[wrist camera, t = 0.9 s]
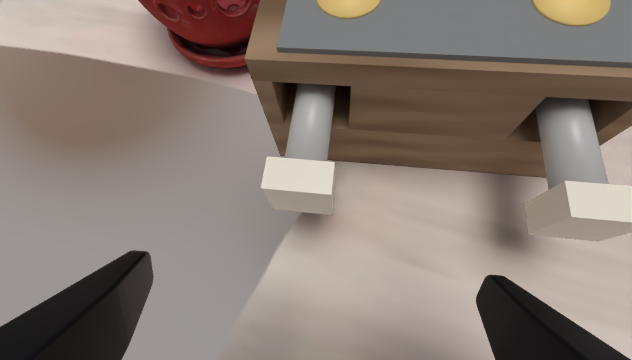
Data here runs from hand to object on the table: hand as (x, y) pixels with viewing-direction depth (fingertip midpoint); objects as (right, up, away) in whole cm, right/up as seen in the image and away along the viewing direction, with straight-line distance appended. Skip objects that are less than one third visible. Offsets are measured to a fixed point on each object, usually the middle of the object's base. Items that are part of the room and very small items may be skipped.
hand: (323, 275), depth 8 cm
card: (+6, +11, +7) cm, 14 cm away
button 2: (0, +5, +10) cm, 12 cm away
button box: (+7, +7, +16) cm, 19 cm away
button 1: (+13, +4, +9) cm, 16 cm away
